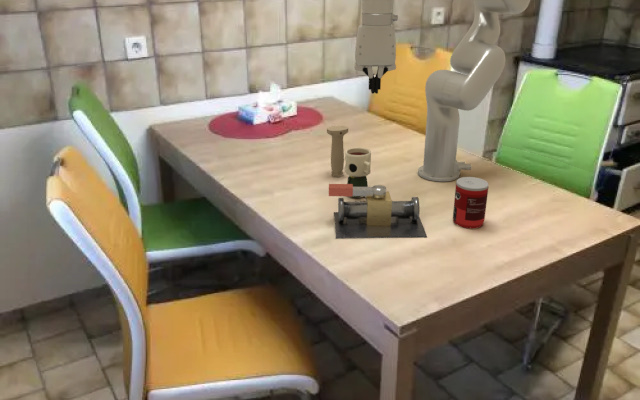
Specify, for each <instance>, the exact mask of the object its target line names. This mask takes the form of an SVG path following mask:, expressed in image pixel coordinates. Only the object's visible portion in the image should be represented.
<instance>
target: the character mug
mask: <svg viewBox="0 0 640 400" xmlns="http://www.w3.org/2000/svg"><path fill="white" fill-rule="evenodd" d="M344 151H345V152H344V162H345V163H344V164H345V165H344V172H345V174H346V175H347V176H348V177H347V183H346V184H353V187H369V183H368V177H367V176H368V175H370V174H371V165H372V153H371V150H370V149H368V148H365V147H350V148H347V149H345V150H344ZM350 197H351V198H362V197H363V196H349V198H350Z"/></svg>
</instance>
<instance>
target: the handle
mask: <svg viewBox="0 0 640 400" xmlns="http://www.w3.org/2000/svg"><path fill="white" fill-rule="evenodd" d="M348 133H349V127H348V126H346V125H331V126H328V127H326V134H327V135H329V136H331V146H330V147H331V149H330V153H331V154H330V167H331V168H330V169H331V175H332V177H334V178H335V177H336V178H340V177H342V176H343V173H344V167H345V165H344V164H345V152H344V151H345V149H344V136H345V135H346V134H348Z"/></svg>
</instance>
